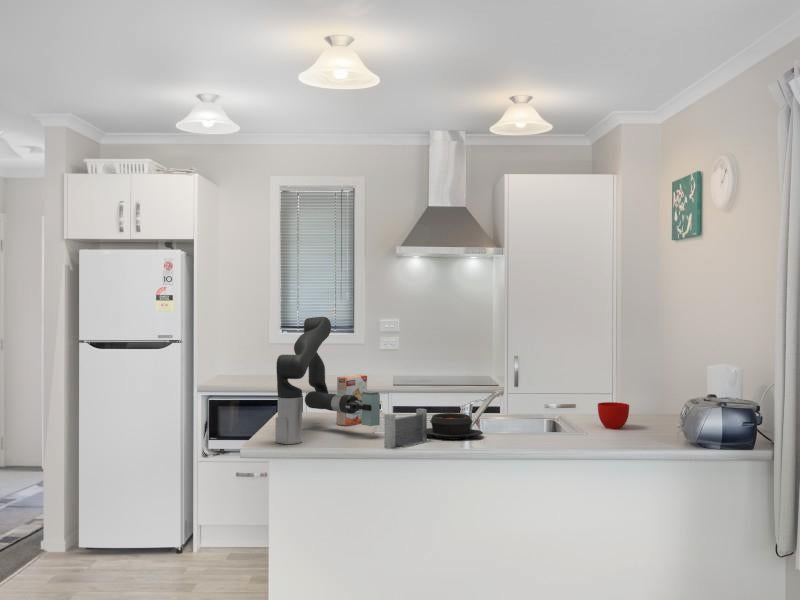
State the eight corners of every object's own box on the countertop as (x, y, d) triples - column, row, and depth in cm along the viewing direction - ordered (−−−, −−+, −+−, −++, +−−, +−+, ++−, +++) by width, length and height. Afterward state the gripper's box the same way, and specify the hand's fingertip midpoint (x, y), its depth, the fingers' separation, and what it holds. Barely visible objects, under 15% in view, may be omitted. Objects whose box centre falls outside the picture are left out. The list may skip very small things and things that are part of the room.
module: (370, 426, 296) (371, 393, 296) (361, 424, 300) (361, 392, 300) (379, 424, 300) (379, 392, 300) (370, 423, 303) (370, 391, 304)
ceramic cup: (624, 424, 333) (624, 401, 333) (632, 430, 317) (632, 406, 317) (593, 423, 335) (594, 400, 335) (600, 430, 318) (600, 406, 318)
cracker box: (346, 426, 325) (346, 377, 325) (336, 425, 329) (336, 376, 328) (367, 422, 336) (367, 374, 336) (357, 420, 340) (357, 374, 340)
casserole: (483, 433, 309) (483, 413, 309) (481, 442, 291) (481, 420, 291) (422, 431, 313) (422, 411, 313) (416, 440, 295) (416, 418, 295)
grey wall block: (395, 449, 277) (395, 416, 277) (384, 447, 280) (384, 414, 280) (431, 441, 292) (431, 409, 292) (420, 439, 296) (420, 408, 296)
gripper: (332, 395, 304) (363, 399, 293) (357, 393, 315) (388, 396, 304) (332, 414, 304) (363, 418, 293) (357, 411, 315) (387, 415, 304)
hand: (375, 407), depth 298 cm, fingers closed on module, 5 cm apart
